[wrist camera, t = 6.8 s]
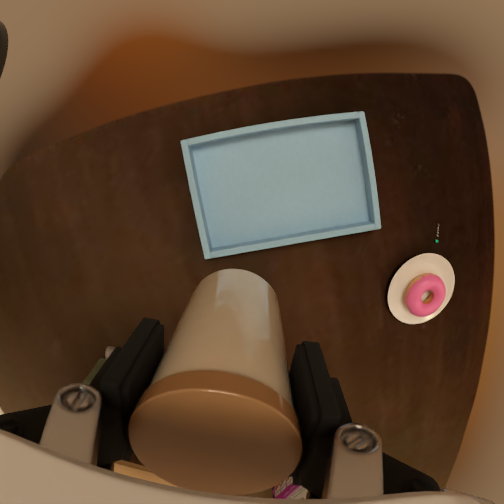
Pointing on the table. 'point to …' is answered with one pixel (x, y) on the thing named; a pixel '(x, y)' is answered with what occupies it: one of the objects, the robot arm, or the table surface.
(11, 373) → the table surface
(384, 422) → the table surface
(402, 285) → the donut
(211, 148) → the tray
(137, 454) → the spice pot
